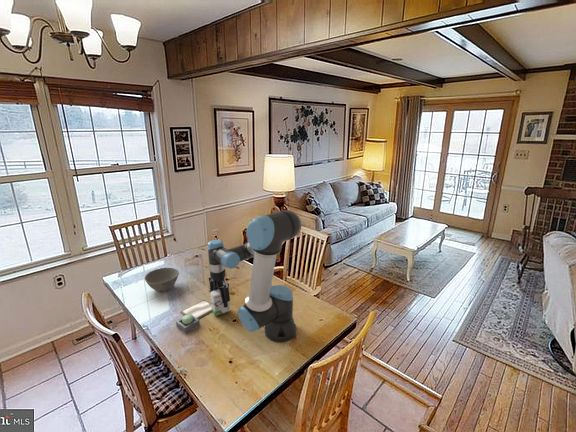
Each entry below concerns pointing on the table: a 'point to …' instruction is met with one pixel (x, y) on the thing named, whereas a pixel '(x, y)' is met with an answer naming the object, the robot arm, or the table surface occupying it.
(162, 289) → the bowl
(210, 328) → the table surface
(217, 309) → the ink box
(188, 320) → the button
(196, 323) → the button housing
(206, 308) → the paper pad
